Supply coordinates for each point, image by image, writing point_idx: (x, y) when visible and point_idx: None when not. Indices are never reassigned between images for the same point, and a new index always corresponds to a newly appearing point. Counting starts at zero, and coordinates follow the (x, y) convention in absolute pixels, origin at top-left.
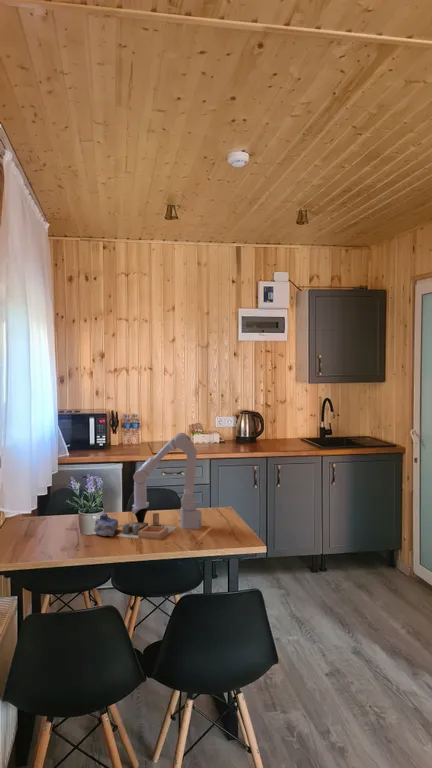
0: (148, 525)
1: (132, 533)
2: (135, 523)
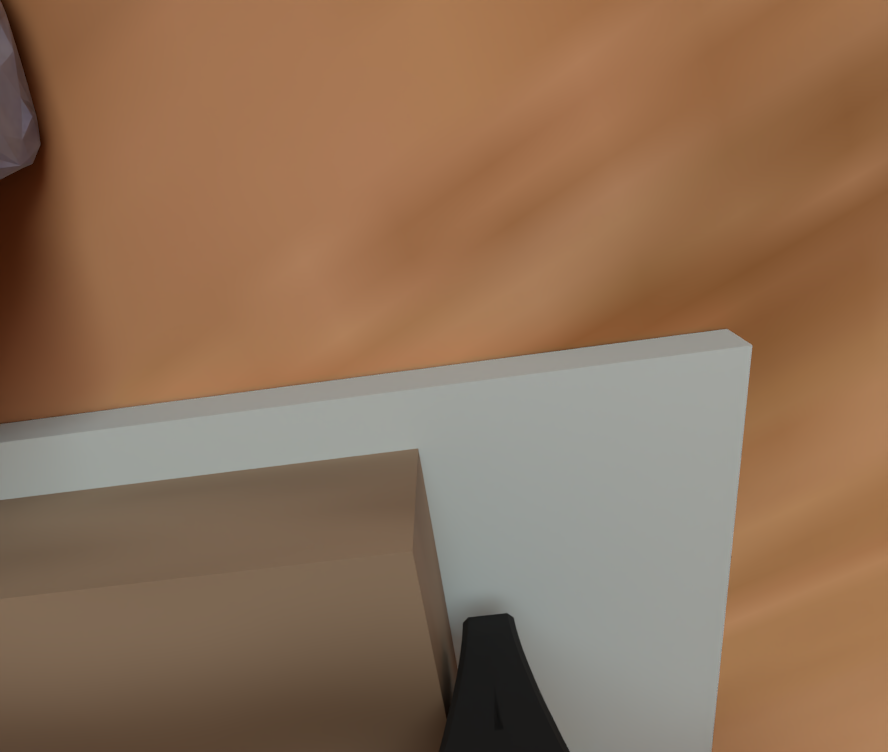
0: (674, 667)
1: None
2: (295, 705)
